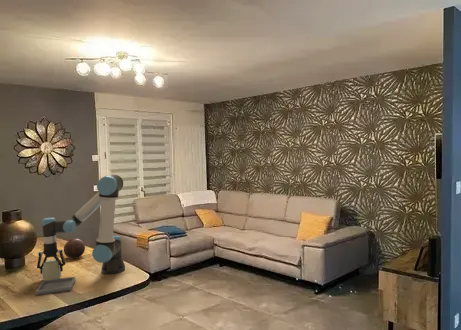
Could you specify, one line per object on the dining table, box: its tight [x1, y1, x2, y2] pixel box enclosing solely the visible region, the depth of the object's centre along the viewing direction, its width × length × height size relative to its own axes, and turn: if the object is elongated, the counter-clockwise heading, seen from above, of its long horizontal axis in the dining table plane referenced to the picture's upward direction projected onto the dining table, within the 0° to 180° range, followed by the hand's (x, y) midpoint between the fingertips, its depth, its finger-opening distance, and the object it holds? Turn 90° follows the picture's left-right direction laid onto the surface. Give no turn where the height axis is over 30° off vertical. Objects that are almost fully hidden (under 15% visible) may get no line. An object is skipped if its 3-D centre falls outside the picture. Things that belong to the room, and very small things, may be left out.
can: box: [42, 258, 61, 281], centre depth 227 cm, size 9×9×12 cm
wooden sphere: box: [63, 238, 86, 260], centre depth 273 cm, size 15×15×15 cm
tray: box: [35, 276, 76, 297], centre depth 212 cm, size 18×18×2 cm
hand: (52, 277), depth 227 cm, fingers closed on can, 9 cm apart
